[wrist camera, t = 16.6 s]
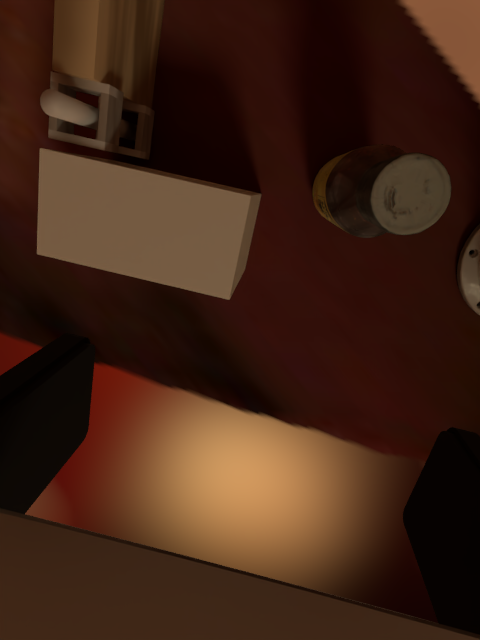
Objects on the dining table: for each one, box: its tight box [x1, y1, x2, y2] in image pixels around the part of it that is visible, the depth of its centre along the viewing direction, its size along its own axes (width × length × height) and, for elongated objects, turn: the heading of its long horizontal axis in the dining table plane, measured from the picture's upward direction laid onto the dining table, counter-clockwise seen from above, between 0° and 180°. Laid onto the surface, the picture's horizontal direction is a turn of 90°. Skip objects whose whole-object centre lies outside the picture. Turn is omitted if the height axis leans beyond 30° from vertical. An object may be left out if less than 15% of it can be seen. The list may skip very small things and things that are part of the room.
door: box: [48, 0, 165, 160], centre depth 31 cm, size 4×15×12 cm, turn 168°
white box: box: [37, 89, 261, 300], centre depth 33 cm, size 16×12×14 cm
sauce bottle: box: [313, 144, 451, 238], centre depth 29 cm, size 6×6×20 cm
